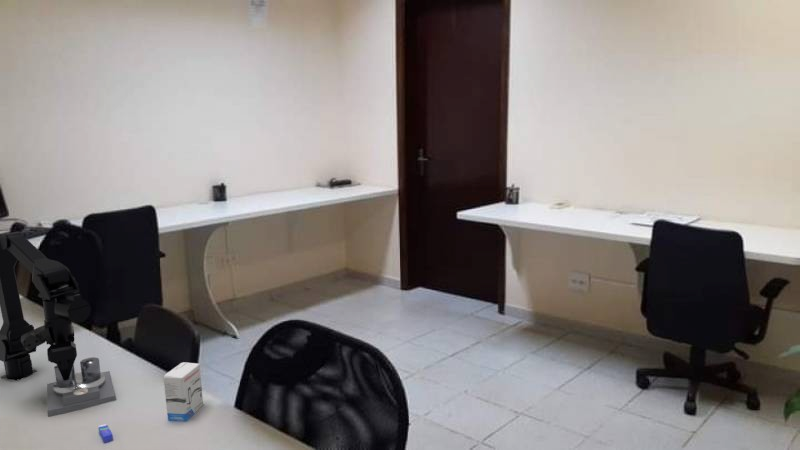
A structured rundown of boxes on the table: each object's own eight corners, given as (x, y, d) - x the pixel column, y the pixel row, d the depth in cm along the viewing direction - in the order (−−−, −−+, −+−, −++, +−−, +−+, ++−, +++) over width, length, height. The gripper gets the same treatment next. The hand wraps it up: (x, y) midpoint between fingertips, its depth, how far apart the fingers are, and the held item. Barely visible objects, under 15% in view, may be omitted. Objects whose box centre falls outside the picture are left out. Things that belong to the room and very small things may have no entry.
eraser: (108, 430, 142) (107, 422, 142) (113, 442, 137) (112, 433, 137) (98, 433, 141) (97, 425, 140) (103, 445, 136) (102, 436, 136)
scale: (47, 389, 163) (45, 375, 162) (110, 375, 170) (108, 363, 169) (48, 416, 148) (46, 402, 148) (116, 401, 156) (114, 387, 155)
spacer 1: (64, 379, 161) (62, 361, 160) (79, 380, 161) (77, 362, 160) (52, 387, 157) (50, 368, 156) (68, 388, 156) (65, 369, 155)
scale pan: (53, 383, 163) (52, 378, 163) (103, 372, 169) (102, 367, 168) (54, 401, 153) (53, 396, 152) (107, 389, 158) (106, 384, 158)
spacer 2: (91, 374, 164) (89, 356, 163) (104, 376, 163) (102, 358, 162) (78, 381, 160) (76, 363, 159) (92, 383, 159) (89, 364, 158)
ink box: (186, 425, 143) (181, 378, 141) (166, 423, 144) (162, 376, 142) (204, 407, 152) (200, 362, 149) (186, 405, 153) (182, 361, 150)
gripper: (21, 310, 160) (29, 367, 163) (19, 333, 144) (28, 395, 147) (70, 303, 165) (77, 357, 168) (73, 324, 149) (80, 384, 152)
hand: (65, 373), depth 159 cm, fingers open, 9 cm apart
